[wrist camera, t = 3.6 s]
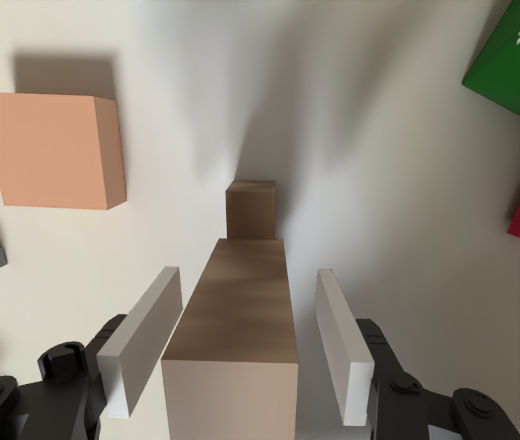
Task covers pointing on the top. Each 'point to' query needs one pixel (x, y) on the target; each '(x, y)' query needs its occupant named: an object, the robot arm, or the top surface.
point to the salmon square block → (60, 151)
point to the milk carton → (500, 63)
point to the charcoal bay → (2, 257)
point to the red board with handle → (515, 224)
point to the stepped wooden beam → (237, 334)
